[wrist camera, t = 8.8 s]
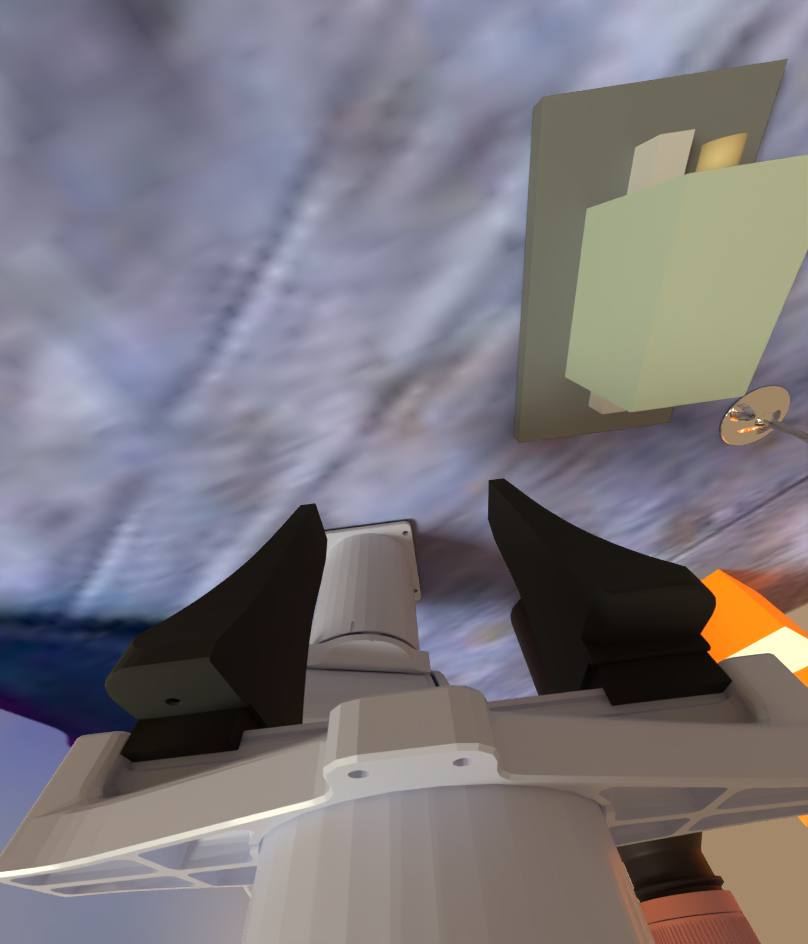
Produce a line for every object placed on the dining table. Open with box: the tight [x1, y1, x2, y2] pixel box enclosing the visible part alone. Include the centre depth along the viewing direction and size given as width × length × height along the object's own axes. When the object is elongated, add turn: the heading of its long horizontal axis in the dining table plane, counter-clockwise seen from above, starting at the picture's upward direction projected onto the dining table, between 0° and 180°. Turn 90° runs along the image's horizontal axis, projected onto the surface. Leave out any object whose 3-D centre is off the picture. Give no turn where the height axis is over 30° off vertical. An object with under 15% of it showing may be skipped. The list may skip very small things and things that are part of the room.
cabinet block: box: [565, 133, 808, 412], centre depth 14 cm, size 9×5×6 cm, turn 7°
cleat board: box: [514, 59, 788, 443], centre depth 17 cm, size 16×10×2 cm, turn 7°
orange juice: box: [701, 569, 808, 827], centre depth 25 cm, size 8×9×20 cm
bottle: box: [511, 599, 761, 944], centre depth 24 cm, size 7×7×20 cm
